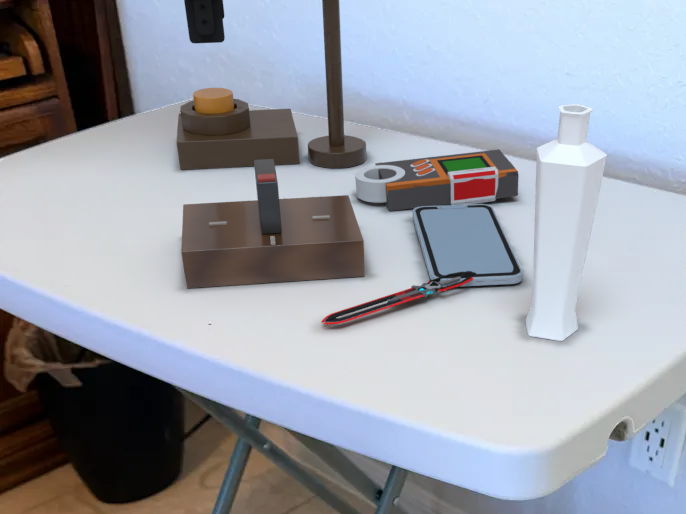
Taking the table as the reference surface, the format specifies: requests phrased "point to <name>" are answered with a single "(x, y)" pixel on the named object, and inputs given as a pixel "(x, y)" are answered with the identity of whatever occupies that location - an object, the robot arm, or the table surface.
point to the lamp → (335, 103)
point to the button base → (235, 137)
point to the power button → (213, 100)
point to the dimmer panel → (271, 242)
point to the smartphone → (466, 244)
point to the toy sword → (400, 297)
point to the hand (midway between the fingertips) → (208, 30)
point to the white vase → (563, 222)
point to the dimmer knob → (267, 196)
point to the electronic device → (439, 180)
